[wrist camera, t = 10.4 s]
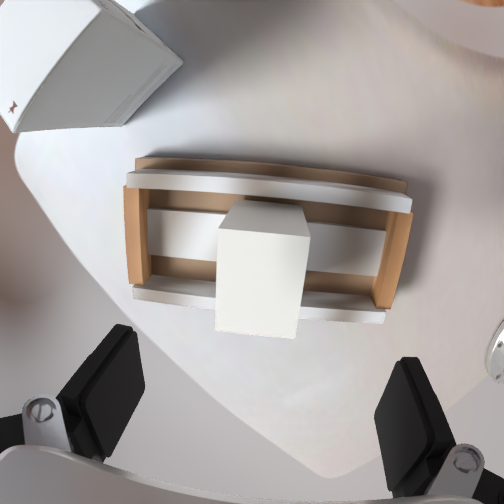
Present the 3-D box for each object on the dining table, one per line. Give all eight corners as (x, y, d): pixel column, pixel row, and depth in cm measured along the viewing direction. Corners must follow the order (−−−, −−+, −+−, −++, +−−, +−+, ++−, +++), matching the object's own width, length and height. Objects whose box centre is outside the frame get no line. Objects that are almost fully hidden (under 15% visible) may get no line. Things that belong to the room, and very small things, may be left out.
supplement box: (188, 62, 21) (106, 10, 9) (121, 129, 23) (9, 139, 11) (133, 10, 19) (40, -48, 8) (74, 74, 21) (-37, 62, 10)
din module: (301, 205, 22) (310, 237, 16) (291, 285, 24) (294, 341, 18) (236, 199, 22) (218, 228, 16) (231, 279, 25) (215, 332, 18)
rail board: (400, 179, 23) (420, 189, 19) (374, 306, 27) (386, 332, 23) (142, 156, 24) (120, 162, 20) (146, 283, 28) (128, 306, 24)
